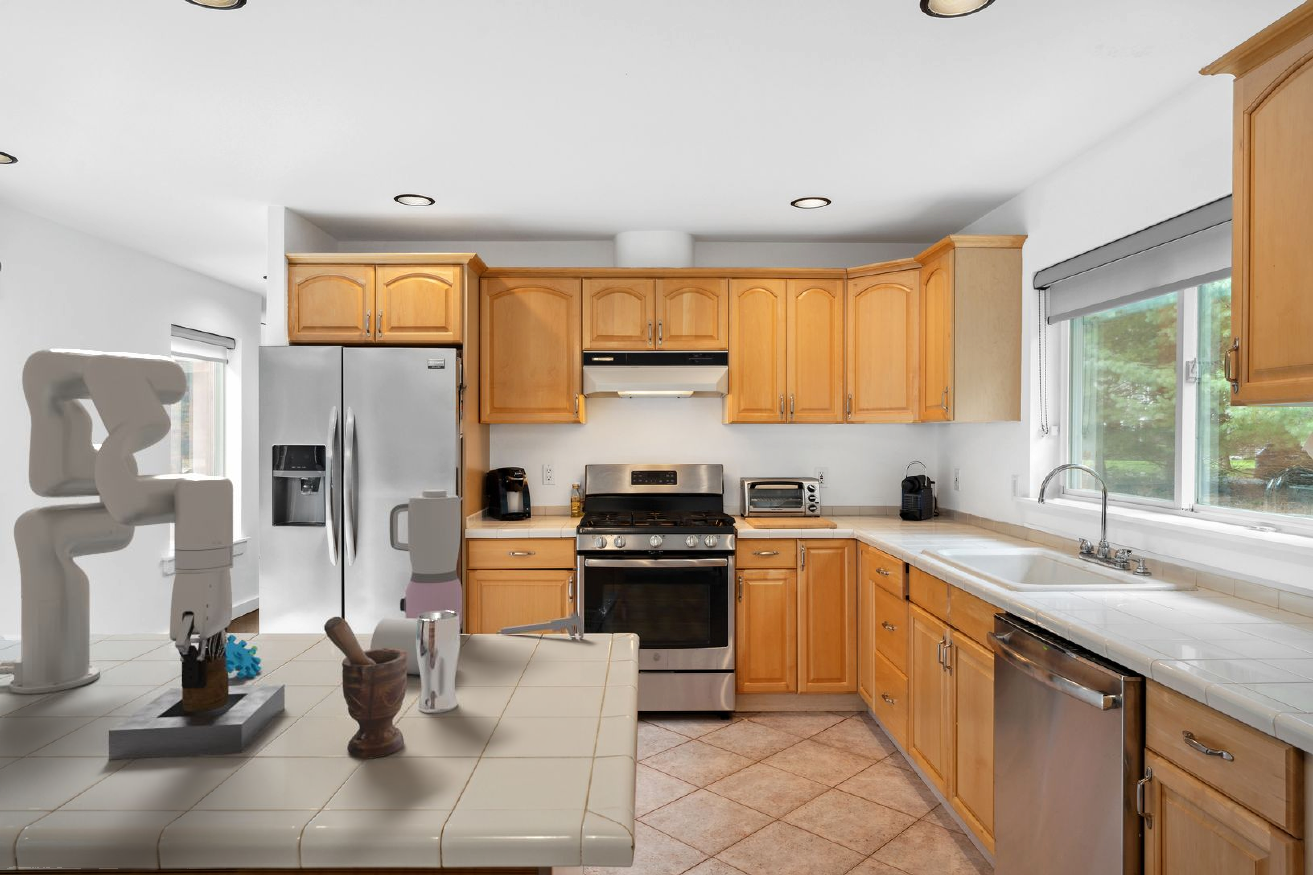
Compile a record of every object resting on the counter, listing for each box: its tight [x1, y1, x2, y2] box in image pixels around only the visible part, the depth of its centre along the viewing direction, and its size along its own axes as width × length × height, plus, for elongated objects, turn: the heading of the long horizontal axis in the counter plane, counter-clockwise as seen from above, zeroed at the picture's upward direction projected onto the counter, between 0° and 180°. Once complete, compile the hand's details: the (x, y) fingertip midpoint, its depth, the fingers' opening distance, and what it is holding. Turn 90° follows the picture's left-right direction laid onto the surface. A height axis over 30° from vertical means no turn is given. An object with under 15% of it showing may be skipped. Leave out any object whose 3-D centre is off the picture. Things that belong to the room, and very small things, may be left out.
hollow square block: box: [108, 683, 286, 761], centre depth 111 cm, size 17×17×4 cm
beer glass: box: [416, 611, 461, 714], centre depth 122 cm, size 7×7×15 cm
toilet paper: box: [369, 617, 420, 676], centre depth 140 cm, size 10×10×10 cm
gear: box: [224, 634, 262, 679], centre depth 138 cm, size 11×6×10 cm
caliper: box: [495, 611, 585, 641], centre depth 165 cm, size 20×1×6 cm, turn 76°
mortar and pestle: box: [323, 616, 408, 759], centre depth 104 cm, size 12×9×20 cm
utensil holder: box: [181, 630, 230, 712], centre depth 111 cm, size 6×6×12 cm
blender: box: [389, 489, 464, 630], centre depth 166 cm, size 16×12×32 cm
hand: (204, 679), depth 111 cm, fingers closed on utensil holder, 5 cm apart
